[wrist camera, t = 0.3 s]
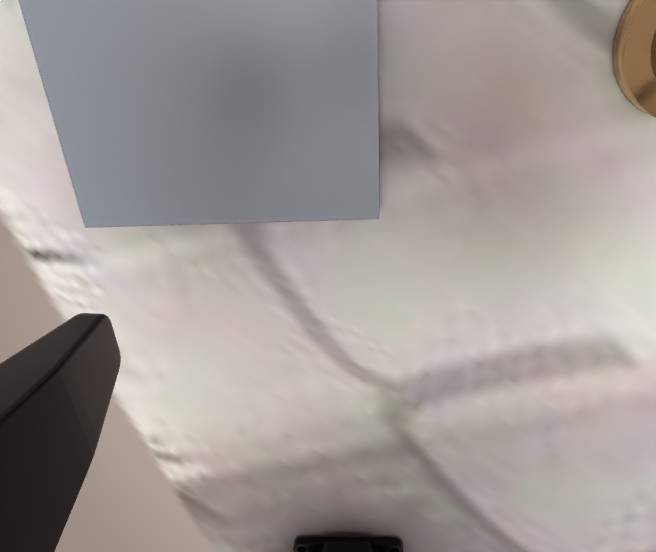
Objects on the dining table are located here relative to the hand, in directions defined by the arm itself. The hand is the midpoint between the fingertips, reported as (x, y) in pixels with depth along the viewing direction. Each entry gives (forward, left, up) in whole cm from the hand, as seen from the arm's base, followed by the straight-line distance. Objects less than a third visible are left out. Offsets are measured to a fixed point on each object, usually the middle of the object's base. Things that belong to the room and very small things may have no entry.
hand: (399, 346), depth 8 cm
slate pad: (+3, +6, -14) cm, 15 cm away
